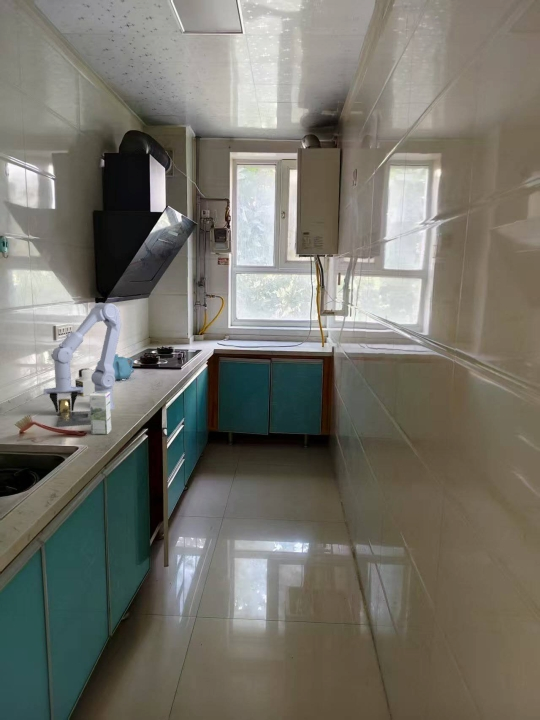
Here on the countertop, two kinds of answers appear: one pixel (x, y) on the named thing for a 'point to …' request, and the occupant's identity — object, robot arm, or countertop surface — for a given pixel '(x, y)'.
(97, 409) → the syrup box
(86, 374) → the medicine bottle
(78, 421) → the steel plate
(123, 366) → the decorative pot
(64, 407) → the hub peg
